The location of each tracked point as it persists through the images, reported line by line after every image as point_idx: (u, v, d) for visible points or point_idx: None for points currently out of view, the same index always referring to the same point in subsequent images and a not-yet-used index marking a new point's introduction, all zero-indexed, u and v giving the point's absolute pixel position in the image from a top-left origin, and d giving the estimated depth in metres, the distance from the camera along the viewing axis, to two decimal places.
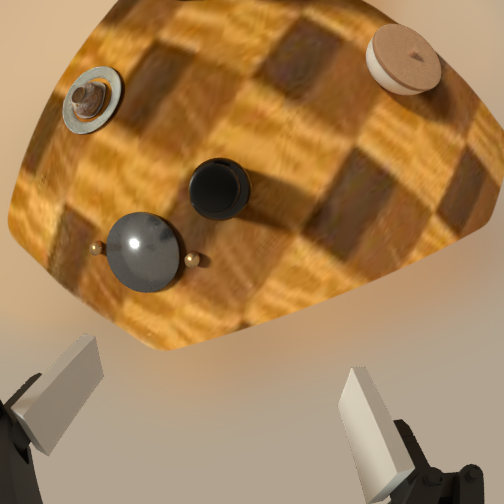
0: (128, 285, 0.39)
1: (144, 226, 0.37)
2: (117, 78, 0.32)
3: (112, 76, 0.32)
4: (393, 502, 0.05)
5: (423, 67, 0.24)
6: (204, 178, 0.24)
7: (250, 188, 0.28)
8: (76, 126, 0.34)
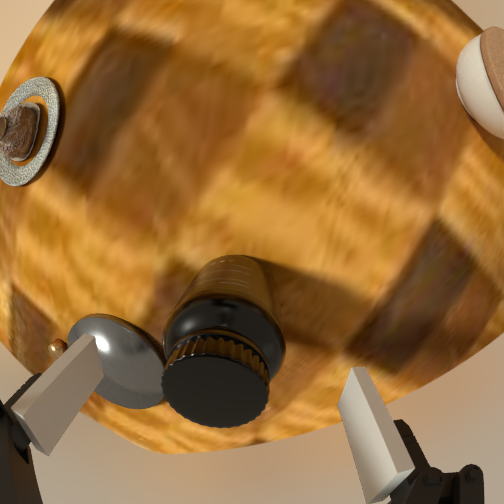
0: (105, 397, 0.25)
1: (112, 338, 0.23)
2: (54, 94, 0.17)
3: (49, 91, 0.17)
4: (393, 502, 0.05)
5: None
6: (190, 378, 0.10)
7: (284, 352, 0.14)
8: (8, 173, 0.19)
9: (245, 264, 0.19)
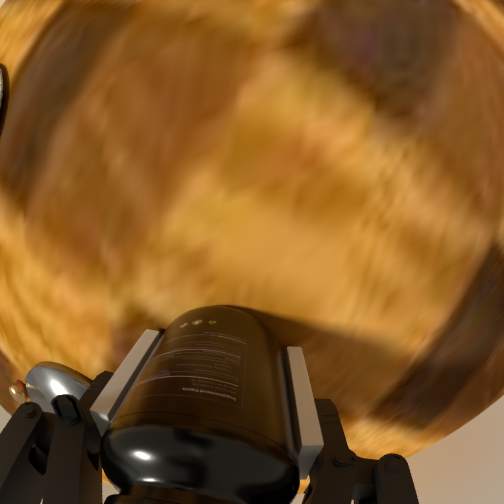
0: None
1: (70, 394, 0.15)
2: None
3: None
4: (310, 485, 0.07)
5: None
6: None
7: (297, 491, 0.06)
8: None
9: (235, 329, 0.11)
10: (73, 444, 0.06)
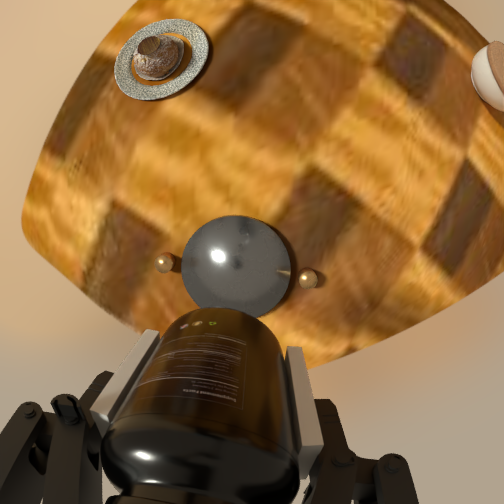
0: None
1: (244, 235, 0.29)
2: (201, 34, 0.24)
3: (193, 31, 0.24)
4: (310, 485, 0.07)
5: None
6: None
7: (297, 491, 0.06)
8: (137, 90, 0.26)
9: (235, 331, 0.11)
10: (73, 444, 0.06)
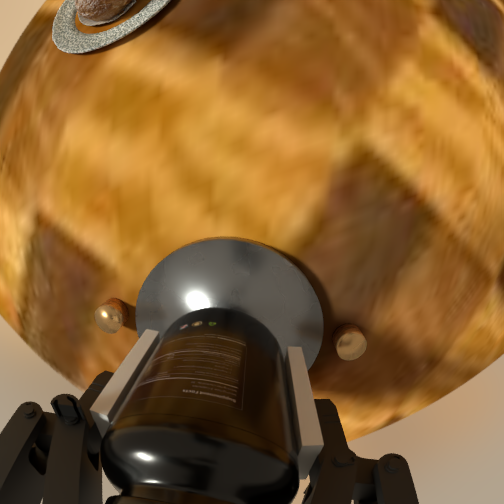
0: None
1: (242, 276, 0.15)
2: None
3: None
4: (310, 485, 0.07)
5: None
6: None
7: (296, 492, 0.06)
8: (76, 42, 0.12)
9: (234, 331, 0.11)
10: (73, 444, 0.06)
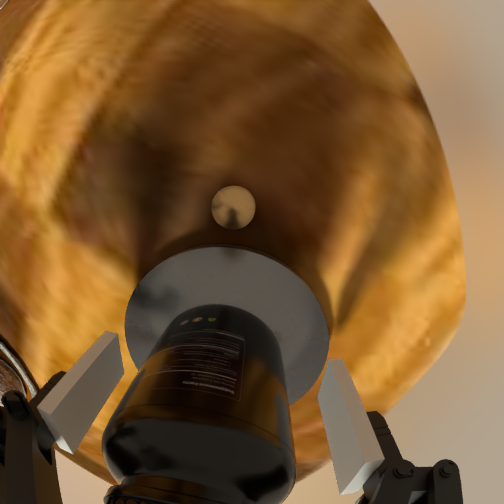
0: (306, 386, 0.15)
1: (154, 331, 0.15)
2: None
3: None
4: (365, 495, 0.06)
5: None
6: None
7: (293, 483, 0.06)
8: None
9: (233, 326, 0.11)
10: (24, 438, 0.05)
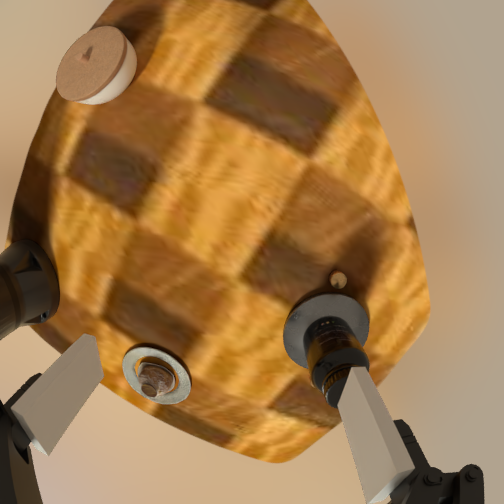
0: None
1: (299, 330, 0.35)
2: (134, 350, 0.38)
3: (132, 355, 0.38)
4: (393, 502, 0.05)
5: (99, 45, 0.21)
6: (342, 386, 0.23)
7: (368, 369, 0.26)
8: (182, 391, 0.39)
9: (341, 323, 0.31)
10: (0, 437, 0.04)
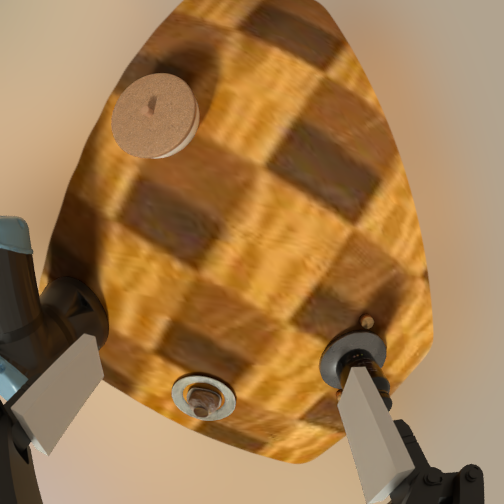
0: None
1: (333, 360, 0.41)
2: (186, 378, 0.43)
3: (183, 382, 0.44)
4: (393, 502, 0.05)
5: (164, 97, 0.26)
6: None
7: None
8: (227, 409, 0.45)
9: (367, 356, 0.38)
10: (0, 437, 0.04)
